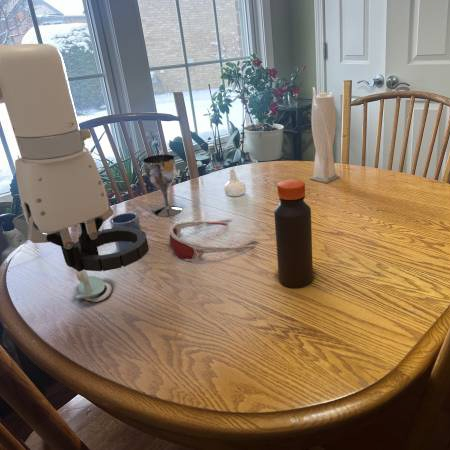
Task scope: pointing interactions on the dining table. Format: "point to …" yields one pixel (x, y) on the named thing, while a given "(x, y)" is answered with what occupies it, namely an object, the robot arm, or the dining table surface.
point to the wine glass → (162, 179)
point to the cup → (125, 221)
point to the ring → (120, 257)
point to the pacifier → (92, 287)
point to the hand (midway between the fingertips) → (84, 264)
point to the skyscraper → (323, 136)
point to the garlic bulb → (234, 185)
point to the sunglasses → (191, 250)
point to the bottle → (293, 235)
